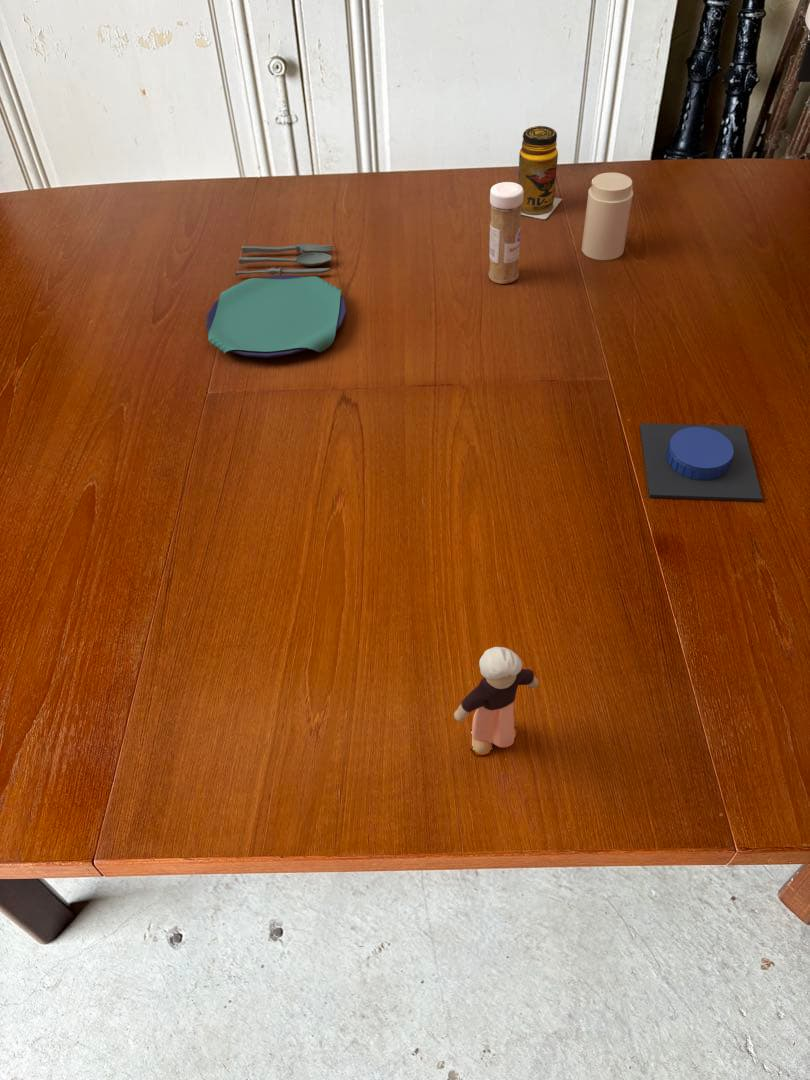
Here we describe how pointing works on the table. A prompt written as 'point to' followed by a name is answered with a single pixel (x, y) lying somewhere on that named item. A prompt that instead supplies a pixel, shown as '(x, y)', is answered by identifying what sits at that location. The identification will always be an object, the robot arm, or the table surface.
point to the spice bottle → (505, 231)
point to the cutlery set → (278, 307)
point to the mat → (672, 484)
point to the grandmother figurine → (495, 699)
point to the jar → (607, 216)
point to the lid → (700, 453)
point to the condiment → (538, 171)
